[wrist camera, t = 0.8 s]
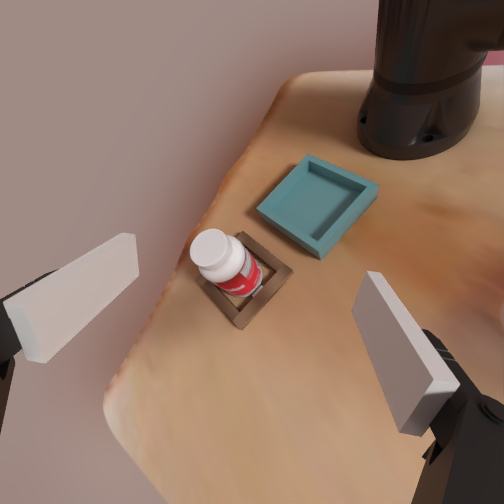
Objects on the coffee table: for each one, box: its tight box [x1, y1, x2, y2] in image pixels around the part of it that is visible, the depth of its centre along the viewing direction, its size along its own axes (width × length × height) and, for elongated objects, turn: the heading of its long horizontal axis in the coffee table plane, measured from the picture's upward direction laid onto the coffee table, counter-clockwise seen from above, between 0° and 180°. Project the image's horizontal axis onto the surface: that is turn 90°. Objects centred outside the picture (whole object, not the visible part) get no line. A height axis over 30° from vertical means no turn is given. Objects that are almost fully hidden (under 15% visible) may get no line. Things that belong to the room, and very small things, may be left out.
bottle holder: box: [196, 231, 294, 330], centre depth 36 cm, size 11×11×1 cm
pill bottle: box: [190, 229, 262, 297], centre depth 32 cm, size 6×6×11 cm
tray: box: [256, 154, 379, 260], centre depth 36 cm, size 12×12×3 cm
